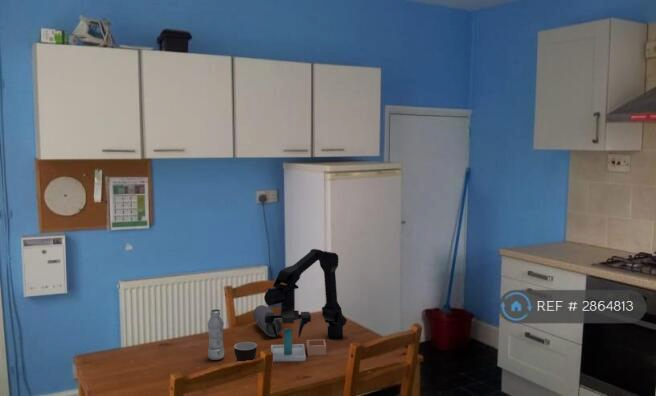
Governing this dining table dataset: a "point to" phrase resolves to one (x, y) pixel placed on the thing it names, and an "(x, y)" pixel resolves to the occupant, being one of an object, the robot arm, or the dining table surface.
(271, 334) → the bluetooth speaker
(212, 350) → the plastic bottle
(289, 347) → the dowel pin
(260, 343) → the dining table surface
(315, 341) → the pin cup
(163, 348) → the dining table surface
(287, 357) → the grey tray
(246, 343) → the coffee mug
